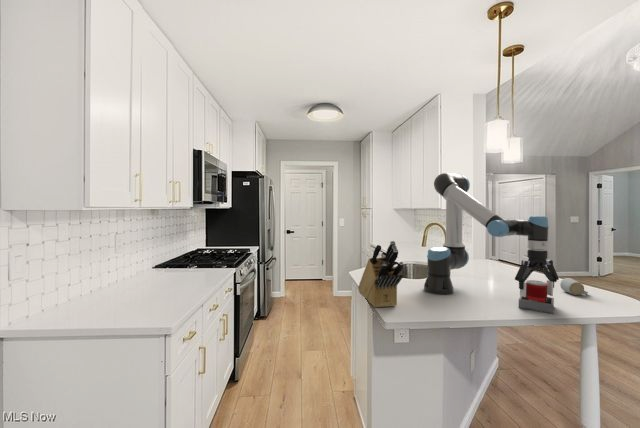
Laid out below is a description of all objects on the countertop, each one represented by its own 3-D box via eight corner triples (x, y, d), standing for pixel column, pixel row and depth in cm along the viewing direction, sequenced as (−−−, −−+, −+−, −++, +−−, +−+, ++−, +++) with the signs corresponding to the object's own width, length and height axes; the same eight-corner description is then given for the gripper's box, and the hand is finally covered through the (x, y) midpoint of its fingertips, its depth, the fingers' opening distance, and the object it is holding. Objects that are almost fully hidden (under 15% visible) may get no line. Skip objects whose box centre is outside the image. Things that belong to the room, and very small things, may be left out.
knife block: (380, 315, 131) (381, 243, 130) (357, 292, 165) (357, 235, 164) (405, 314, 132) (406, 242, 131) (377, 291, 167) (377, 234, 166)
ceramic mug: (570, 295, 159) (570, 281, 159) (559, 291, 167) (560, 277, 167) (592, 296, 158) (593, 281, 158) (580, 292, 166) (581, 278, 166)
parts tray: (518, 308, 140) (518, 299, 140) (521, 301, 150) (521, 293, 150) (553, 314, 132) (553, 304, 132) (553, 306, 142) (553, 297, 142)
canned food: (550, 309, 136) (550, 284, 136) (530, 308, 138) (530, 283, 138) (541, 303, 144) (542, 280, 144) (522, 302, 146) (523, 279, 145)
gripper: (518, 251, 135) (517, 299, 136) (569, 250, 138) (568, 297, 139) (506, 248, 143) (505, 294, 143) (554, 248, 146) (553, 292, 146)
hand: (536, 295), depth 141 cm, fingers open, 13 cm apart
